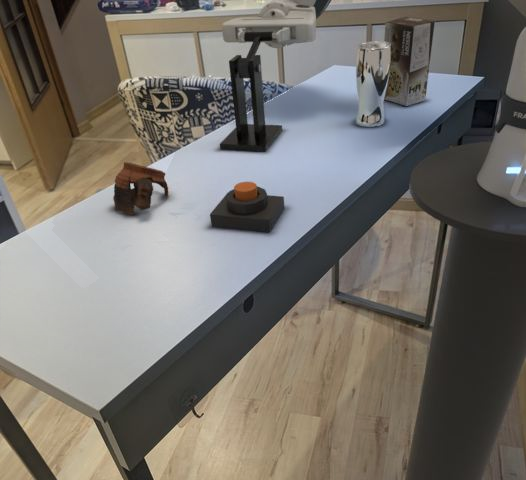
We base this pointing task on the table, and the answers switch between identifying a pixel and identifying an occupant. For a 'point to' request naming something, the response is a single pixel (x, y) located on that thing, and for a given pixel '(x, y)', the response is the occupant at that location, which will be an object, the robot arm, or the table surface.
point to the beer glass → (372, 81)
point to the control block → (248, 212)
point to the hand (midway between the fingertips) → (258, 38)
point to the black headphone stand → (244, 133)
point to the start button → (245, 191)
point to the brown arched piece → (136, 187)
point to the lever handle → (252, 50)
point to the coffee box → (409, 59)
